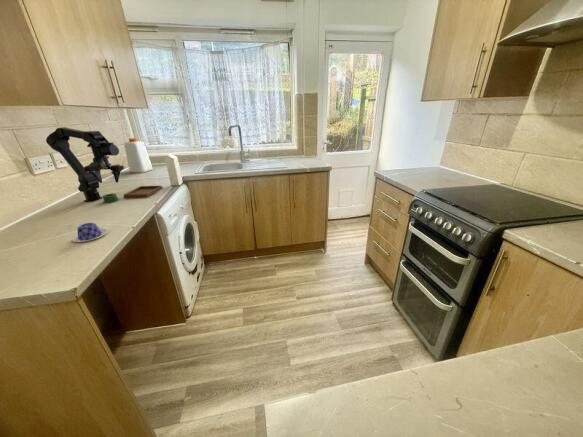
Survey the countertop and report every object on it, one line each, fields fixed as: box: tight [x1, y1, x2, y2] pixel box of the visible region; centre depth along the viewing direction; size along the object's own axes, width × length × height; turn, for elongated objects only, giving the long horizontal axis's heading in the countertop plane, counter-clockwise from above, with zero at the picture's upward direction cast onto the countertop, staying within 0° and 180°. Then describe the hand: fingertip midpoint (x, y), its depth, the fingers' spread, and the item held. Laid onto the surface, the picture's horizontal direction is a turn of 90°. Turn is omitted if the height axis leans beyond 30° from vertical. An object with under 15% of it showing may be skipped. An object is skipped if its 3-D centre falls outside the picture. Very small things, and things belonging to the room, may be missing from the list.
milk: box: [164, 152, 184, 187], centre depth 170 cm, size 6×6×22 cm
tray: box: [122, 185, 163, 199], centre depth 157 cm, size 15×19×2 cm
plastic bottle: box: [123, 137, 154, 174], centre depth 213 cm, size 15×15×28 cm
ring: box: [102, 193, 119, 204], centre depth 144 cm, size 6×6×4 cm
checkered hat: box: [71, 222, 108, 243], centre depth 101 cm, size 12×12×5 cm
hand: (109, 182), depth 141 cm, fingers open, 9 cm apart
